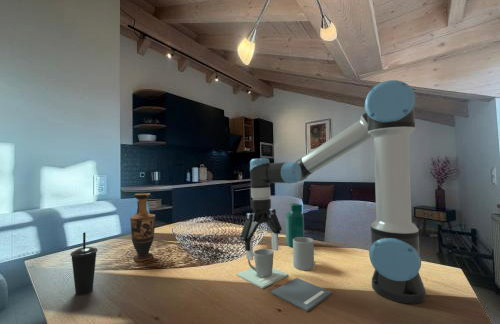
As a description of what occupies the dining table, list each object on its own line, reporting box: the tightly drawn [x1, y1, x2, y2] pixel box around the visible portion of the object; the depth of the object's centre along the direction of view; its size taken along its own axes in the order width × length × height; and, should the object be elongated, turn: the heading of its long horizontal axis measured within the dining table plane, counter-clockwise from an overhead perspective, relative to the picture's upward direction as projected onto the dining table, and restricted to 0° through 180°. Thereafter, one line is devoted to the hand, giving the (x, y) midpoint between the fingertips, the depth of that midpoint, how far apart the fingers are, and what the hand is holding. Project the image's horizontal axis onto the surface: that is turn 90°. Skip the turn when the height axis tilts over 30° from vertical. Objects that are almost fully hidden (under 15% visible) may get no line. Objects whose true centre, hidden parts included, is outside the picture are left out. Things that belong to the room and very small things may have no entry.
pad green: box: [236, 265, 289, 290], centre depth 91 cm, size 14×14×1 cm
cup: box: [247, 248, 274, 277], centre depth 91 cm, size 8×10×8 cm
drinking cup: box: [70, 232, 99, 296], centre depth 82 cm, size 8×8×20 cm
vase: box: [129, 192, 156, 262], centre depth 111 cm, size 11×11×30 cm
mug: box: [292, 236, 315, 272], centre depth 101 cm, size 12×8×11 cm
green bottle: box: [284, 202, 305, 248], centre depth 127 cm, size 10×8×22 cm
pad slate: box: [270, 277, 333, 312], centre depth 78 cm, size 14×14×1 cm
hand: (263, 254), depth 91 cm, fingers open, 13 cm apart
